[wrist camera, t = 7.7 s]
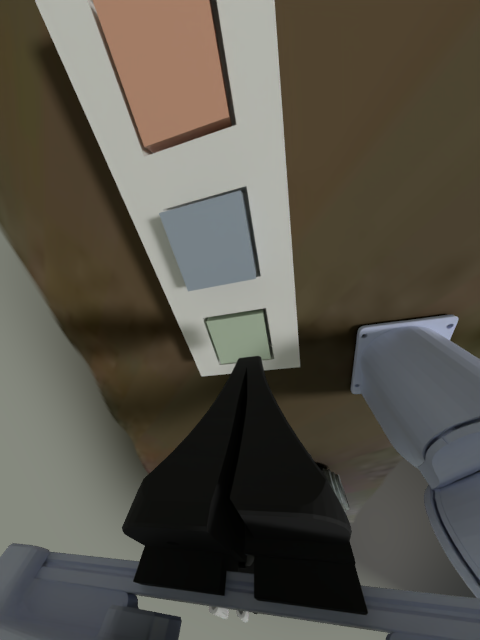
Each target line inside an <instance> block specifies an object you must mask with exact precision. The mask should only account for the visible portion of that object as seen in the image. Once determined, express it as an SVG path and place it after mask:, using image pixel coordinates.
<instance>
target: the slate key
mask: <svg viewBox="0 0 480 640" xmlns="http://www.w3.org/2000/svg"><path fill="white" fill-rule="evenodd" d="M159 215H160V218H161V221H162V223H163V226H164V229H165V231H166V234H167V237H168V239H169V242H170V245H171V247H172V250H173V253H174V255H175V258H176V261H177V263H178V266H179V269H180V271H181V274H182V277H183V279H184V282H185V285H186V287H187V290H188V291H193V290H198V289H204V288H209V287H214V286H220V285H225V284H230V283H236V282H241V281H247V280H252V279H256V267H255V261H254V256H253V250H252V244H251V238H250V232H249V226H248V221H247V215H246V209H245V203H244V197H243V194H242V192H241V190H240V191H236V192H233V193H229V194H226V195H222V196H219V197H215V198H211V199H208V200H204V201H201V202H197V203H193V204H190V205H186V206H183V207H179V208H176V209H172V210H168V211H165V212H161V213H159Z"/></svg>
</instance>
